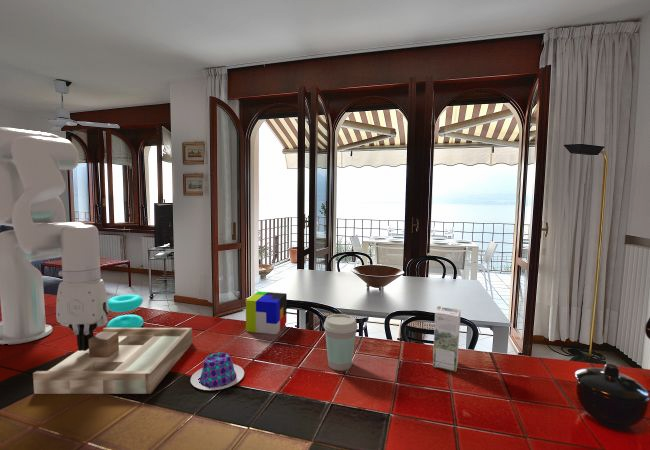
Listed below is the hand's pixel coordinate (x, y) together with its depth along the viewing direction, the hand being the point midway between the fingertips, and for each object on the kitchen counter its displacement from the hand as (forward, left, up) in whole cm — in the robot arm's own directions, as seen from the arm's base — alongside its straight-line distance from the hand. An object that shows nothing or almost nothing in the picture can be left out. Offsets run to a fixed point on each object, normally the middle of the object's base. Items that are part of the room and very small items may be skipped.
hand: (85, 348), depth 86 cm
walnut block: (+4, 0, -1) cm, 5 cm away
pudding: (+34, -6, -5) cm, 35 cm away
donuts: (-3, +23, -4) cm, 24 cm away
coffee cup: (+63, 0, -4) cm, 63 cm away
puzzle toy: (+41, +25, -5) cm, 48 cm away
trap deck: (+9, 0, -4) cm, 10 cm away
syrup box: (+90, 0, -4) cm, 90 cm away
